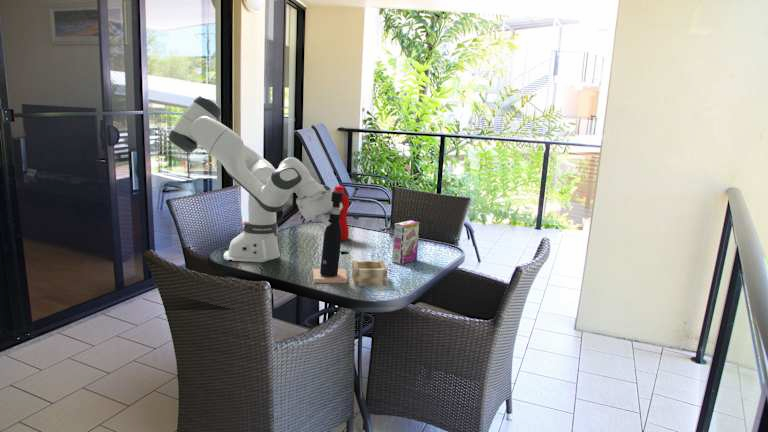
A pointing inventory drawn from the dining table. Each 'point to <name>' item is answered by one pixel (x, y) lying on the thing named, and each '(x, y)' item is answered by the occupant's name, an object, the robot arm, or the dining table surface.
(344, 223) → the water bottle
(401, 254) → the candy bar box
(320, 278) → the terracotta tile
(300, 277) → the dining table surface
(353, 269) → the bottle collar
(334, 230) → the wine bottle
